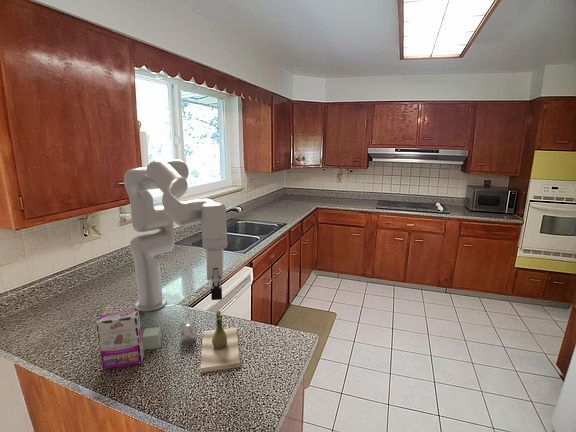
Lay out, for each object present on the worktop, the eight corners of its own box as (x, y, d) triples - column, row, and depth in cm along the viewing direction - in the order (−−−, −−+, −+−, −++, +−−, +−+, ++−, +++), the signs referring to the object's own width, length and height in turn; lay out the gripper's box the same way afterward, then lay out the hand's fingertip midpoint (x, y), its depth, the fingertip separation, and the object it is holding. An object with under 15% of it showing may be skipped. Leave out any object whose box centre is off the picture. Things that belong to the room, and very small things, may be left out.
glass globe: (181, 336, 113) (180, 321, 112) (196, 335, 114) (195, 320, 113) (180, 345, 108) (179, 329, 107) (195, 343, 109) (194, 327, 108)
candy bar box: (144, 354, 103) (139, 309, 100) (142, 364, 99) (136, 317, 95) (107, 360, 100) (100, 314, 97) (102, 370, 96) (95, 322, 92)
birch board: (203, 334, 114) (203, 331, 114) (236, 330, 117) (236, 327, 116) (200, 372, 95) (200, 368, 95) (240, 366, 98) (240, 362, 97)
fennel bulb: (223, 352, 102) (221, 319, 100) (209, 350, 103) (207, 317, 101) (229, 341, 108) (228, 309, 105) (216, 340, 109) (214, 308, 106)
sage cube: (146, 341, 111) (145, 328, 109) (161, 339, 112) (160, 326, 111) (143, 350, 106) (142, 336, 105) (159, 348, 107) (157, 335, 106)
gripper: (203, 234, 105) (205, 281, 109) (201, 252, 89) (203, 306, 93) (226, 233, 107) (227, 280, 111) (228, 250, 90) (229, 304, 94)
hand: (216, 292), depth 102 cm, fingers open, 9 cm apart
